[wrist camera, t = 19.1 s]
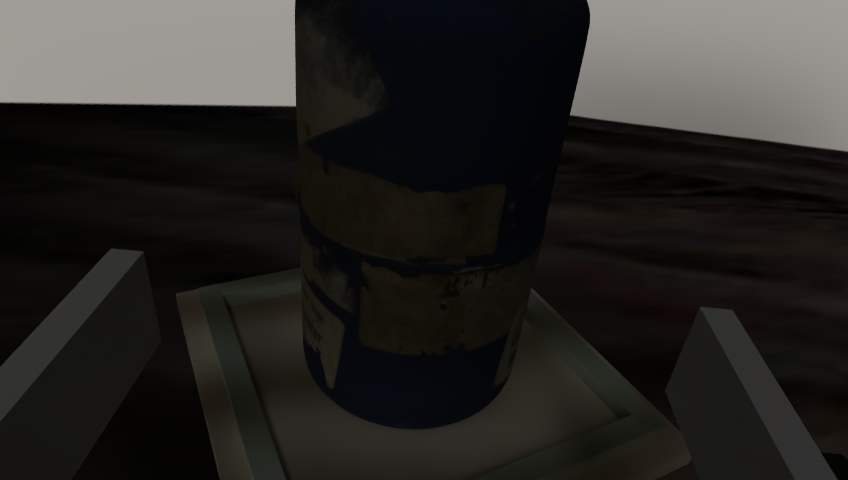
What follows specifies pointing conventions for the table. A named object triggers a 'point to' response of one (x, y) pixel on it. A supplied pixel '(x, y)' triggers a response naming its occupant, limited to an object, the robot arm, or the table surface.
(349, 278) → the canister
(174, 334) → the table surface
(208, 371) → the square tray
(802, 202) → the table surface
